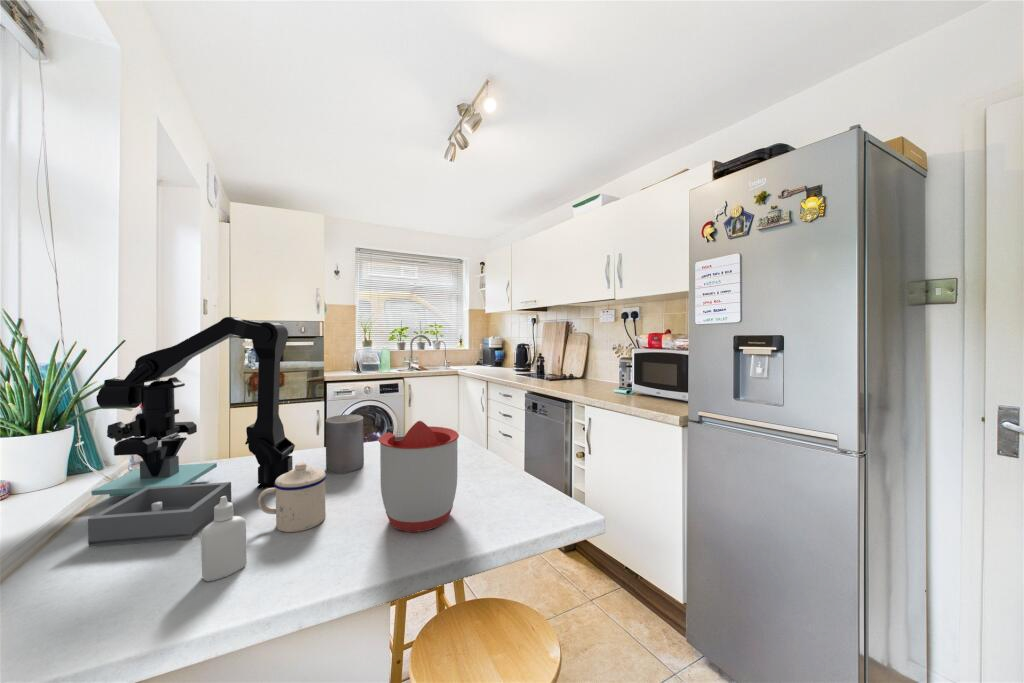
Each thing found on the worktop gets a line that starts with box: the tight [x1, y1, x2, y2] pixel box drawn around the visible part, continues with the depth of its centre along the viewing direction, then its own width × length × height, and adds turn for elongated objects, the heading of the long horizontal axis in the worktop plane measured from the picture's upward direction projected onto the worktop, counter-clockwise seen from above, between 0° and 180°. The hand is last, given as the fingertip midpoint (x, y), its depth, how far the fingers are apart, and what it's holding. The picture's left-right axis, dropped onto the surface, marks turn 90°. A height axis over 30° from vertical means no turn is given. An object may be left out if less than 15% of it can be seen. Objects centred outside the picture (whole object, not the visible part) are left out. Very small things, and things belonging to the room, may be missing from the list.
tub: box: [87, 481, 232, 548], centre depth 77 cm, size 16×14×5 cm
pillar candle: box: [325, 413, 365, 474], centre depth 108 cm, size 10×10×15 cm
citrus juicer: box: [378, 420, 460, 533], centre depth 80 cm, size 16×17×20 cm
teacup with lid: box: [257, 462, 327, 533], centre depth 78 cm, size 12×9×12 cm
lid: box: [91, 455, 218, 497], centre depth 92 cm, size 17×15×6 cm
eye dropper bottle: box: [200, 496, 248, 582], centre depth 62 cm, size 4×6×12 cm
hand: (160, 473), depth 92 cm, fingers closed on lid, 3 cm apart
